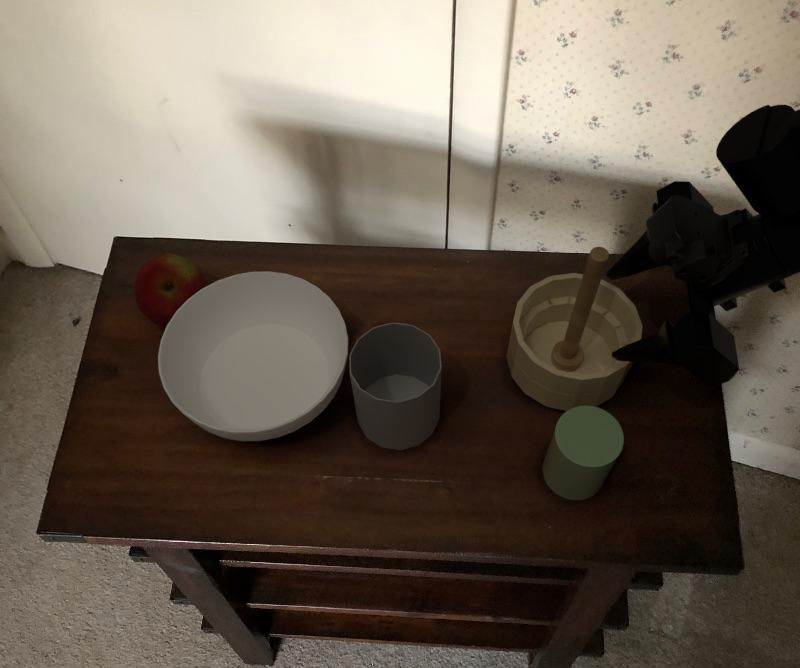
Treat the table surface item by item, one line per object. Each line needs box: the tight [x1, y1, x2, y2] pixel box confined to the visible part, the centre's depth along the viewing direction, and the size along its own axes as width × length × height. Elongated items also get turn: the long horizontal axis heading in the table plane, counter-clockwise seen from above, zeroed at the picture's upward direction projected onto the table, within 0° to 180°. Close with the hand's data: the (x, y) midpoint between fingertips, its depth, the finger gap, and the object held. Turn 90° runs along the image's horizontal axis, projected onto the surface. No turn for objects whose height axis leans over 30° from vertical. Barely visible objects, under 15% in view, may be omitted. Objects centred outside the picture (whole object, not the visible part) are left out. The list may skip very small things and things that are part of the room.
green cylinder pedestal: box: [541, 406, 625, 501], centre depth 71 cm, size 6×6×8 cm
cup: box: [348, 321, 443, 451], centre depth 73 cm, size 8×8×10 cm
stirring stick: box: [551, 246, 610, 372], centre depth 72 cm, size 3×3×17 cm
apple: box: [133, 253, 208, 329], centre depth 81 cm, size 8×8×8 cm
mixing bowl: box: [506, 272, 643, 412], centre depth 77 cm, size 12×12×7 cm
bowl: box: [157, 271, 349, 442], centre depth 76 cm, size 18×18×7 cm
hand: (611, 315), depth 72 cm, fingers open, 9 cm apart
